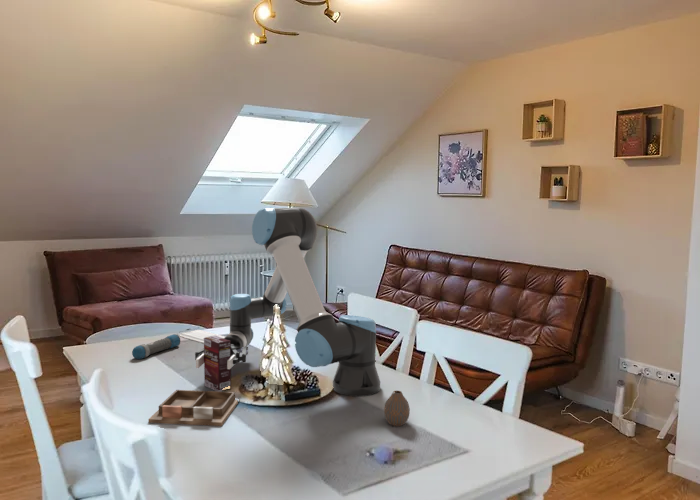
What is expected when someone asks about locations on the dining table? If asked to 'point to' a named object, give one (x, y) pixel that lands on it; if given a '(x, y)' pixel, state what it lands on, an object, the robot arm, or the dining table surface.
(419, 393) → the dining table surface
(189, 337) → the baseboard molding
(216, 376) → the supplement box
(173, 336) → the grey and blue cylinder
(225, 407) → the organiser board
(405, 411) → the vase
